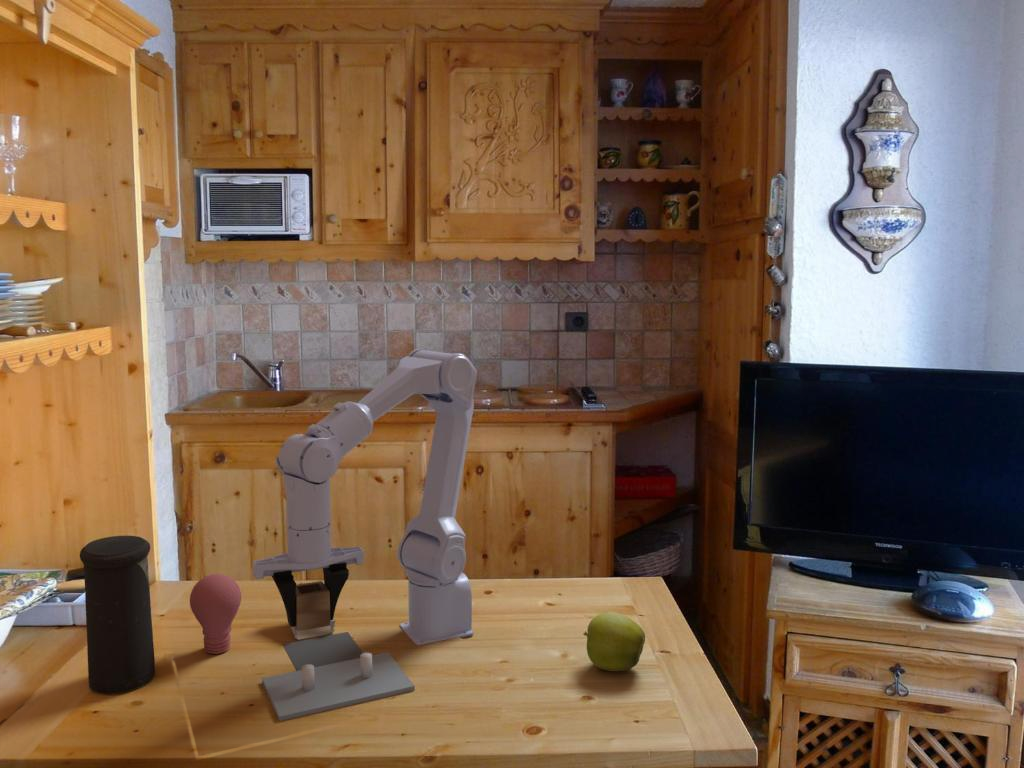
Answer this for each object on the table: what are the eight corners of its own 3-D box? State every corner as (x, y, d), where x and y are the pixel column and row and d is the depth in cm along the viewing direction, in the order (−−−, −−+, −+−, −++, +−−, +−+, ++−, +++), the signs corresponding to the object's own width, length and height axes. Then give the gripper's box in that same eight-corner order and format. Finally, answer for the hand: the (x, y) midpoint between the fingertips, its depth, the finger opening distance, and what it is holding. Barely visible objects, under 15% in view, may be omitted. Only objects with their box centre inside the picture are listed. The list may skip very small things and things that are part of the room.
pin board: (388, 658, 126) (387, 632, 126) (414, 692, 117) (414, 664, 116) (262, 684, 118) (261, 657, 118) (279, 723, 109) (278, 694, 108)
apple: (587, 651, 130) (589, 600, 128) (648, 661, 127) (650, 609, 125) (574, 675, 122) (575, 621, 121) (637, 686, 119) (639, 631, 118)
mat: (347, 634, 134) (347, 631, 134) (367, 661, 126) (367, 658, 125) (282, 646, 130) (282, 644, 130) (298, 675, 121) (298, 673, 121)
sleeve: (322, 622, 121) (321, 580, 120) (330, 633, 117) (329, 591, 116) (290, 627, 119) (289, 585, 118) (297, 639, 115) (296, 596, 114)
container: (171, 671, 122) (164, 534, 119) (123, 701, 114) (114, 555, 111) (122, 661, 125) (114, 527, 122) (72, 690, 116) (62, 547, 113)
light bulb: (227, 666, 124) (224, 586, 122) (182, 661, 125) (178, 582, 123) (252, 644, 130) (249, 568, 129) (209, 640, 132) (205, 564, 130)
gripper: (353, 510, 123) (354, 601, 124) (247, 522, 116) (250, 618, 118) (368, 524, 116) (369, 620, 118) (257, 537, 110) (260, 639, 112)
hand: (310, 620), depth 118 cm, fingers closed on sleeve, 4 cm apart
